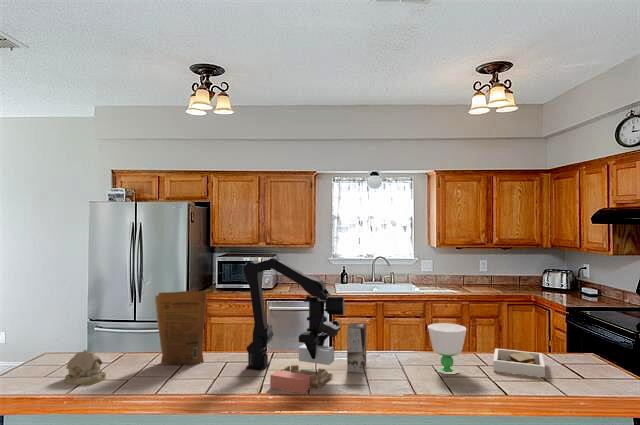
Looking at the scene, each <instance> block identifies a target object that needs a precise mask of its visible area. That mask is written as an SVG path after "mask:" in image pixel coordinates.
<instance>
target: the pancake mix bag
mask: <svg viewBox="0 0 640 425" xmlns="http://www.w3.org/2000/svg"><path fill="white" fill-rule="evenodd" d="M207 296H208V292H207V291H204V290H186V291H185V290H184V291H182V290H181V291H175V292H174V291H171V292H170V291H169V292H158V295H157V294H156V295H155V297H154V304H155V311H156V312H155V313H156V321H157V329H158V335H159V342H160V343H159V344H160V349H161V354H162V355H161V363H162V364H163V363H164V365H166V364H168V365H169V366H171V365H172V366H173V365H175V366H176V365H198V364H197V363H199V364H201V363H200V362H202V363H204V362H205V360H204V355H203V344H204V331H205V330H204V329H205V321H206V307H207Z"/></svg>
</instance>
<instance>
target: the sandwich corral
mask: <svg viewBox="0 0 640 425" xmlns="http://www.w3.org/2000/svg"><path fill="white" fill-rule="evenodd" d="M521 352H526V353H529V354H531V355H533V356H534V357H535V362H536V365H535V364H526V363H518V362H509V361H501V360H498V359H503V360H511V358H510V357H509V355H512V354H516V353H521ZM492 361H493V366H492V367H493V368H492V370H493V371H498V372H497V373H500V372H507V373H506V374H508V373H515V374H514V375H516V374H524V375H531V376H530V377H532V376H538V377H537V378H540V377H545V378H546V365H545V360H544V356H543V353H542V352H532V351H523V350H514V349H504V348H494V354H493V360H492ZM493 371H492V372H493ZM524 375H523V376H524Z"/></svg>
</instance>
